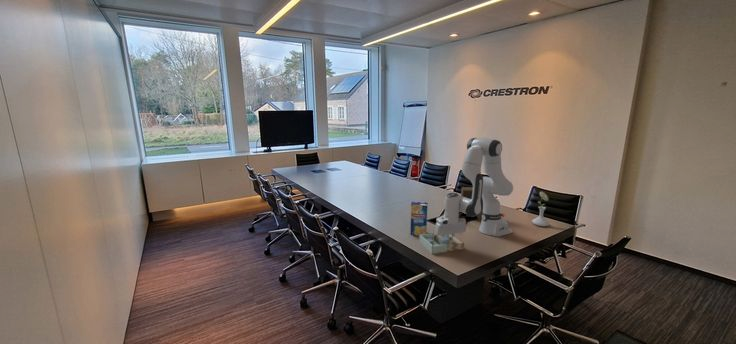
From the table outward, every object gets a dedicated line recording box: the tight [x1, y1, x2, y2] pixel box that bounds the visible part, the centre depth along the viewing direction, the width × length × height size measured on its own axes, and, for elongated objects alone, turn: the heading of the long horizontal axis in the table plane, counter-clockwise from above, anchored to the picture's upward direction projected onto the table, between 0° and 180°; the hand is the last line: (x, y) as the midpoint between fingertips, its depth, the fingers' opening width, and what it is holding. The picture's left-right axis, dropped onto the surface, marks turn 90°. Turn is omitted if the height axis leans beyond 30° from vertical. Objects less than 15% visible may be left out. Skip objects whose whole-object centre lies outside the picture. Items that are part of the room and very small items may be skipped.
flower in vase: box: [531, 191, 550, 227], centre depth 226 cm, size 13×11×25 cm
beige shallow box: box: [434, 234, 465, 252], centre depth 195 cm, size 12×16×4 cm
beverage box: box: [410, 201, 429, 236], centre depth 211 cm, size 7×11×22 cm, turn 78°
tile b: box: [439, 237, 450, 244], centre depth 189 cm, size 5×5×2 cm
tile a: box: [425, 238, 434, 245], centre depth 195 cm, size 5×5×2 cm
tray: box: [418, 232, 448, 255], centre depth 192 cm, size 10×18×5 cm, turn 15°
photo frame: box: [460, 186, 483, 222], centre depth 240 cm, size 15×22×25 cm
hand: (449, 239), depth 190 cm, fingers closed
